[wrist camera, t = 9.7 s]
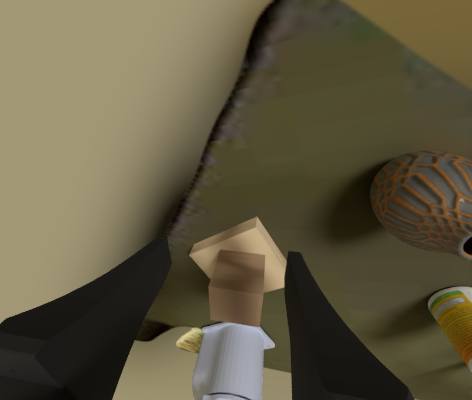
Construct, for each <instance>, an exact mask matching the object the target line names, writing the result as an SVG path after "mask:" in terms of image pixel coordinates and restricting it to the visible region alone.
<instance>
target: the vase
mask: <svg viewBox="0 0 472 400" xmlns="http://www.w3.org/2000/svg"><path fill="white" fill-rule="evenodd" d="M370 202H371V206H372V209H373V212H374V214H375V215H376V217H377V219H378V220H379V222H380V223H381V224H382V225H383V227H384V228H385V229H386V230H387V231H389V232H390V233H391V234H392V235H394V236H395V237H396V238H398V239H400V240H401V241H403V242H405V243H407V244H409V245H411V246H414V247H417V248H420V249H424V250H428V251H434V252H442V253H450V254H454V255H457V256H459V257H461V258H464V259H467V260H472V161H471V160H469V159H467V158H465V157H462V156H459V155H456V154H452V153H448V152H442V151H418V152H413V153H408V154H405V155H402V156H400V157H397V158H395V159H393V160H392V161H390V162H389V163H387V164H386V165H385V166H384V167H383V168H382V169H381V170H380V171H379V172H378V173H377V174H376V176H375V178H374V179H373V182H372V184H371V189H370Z"/></svg>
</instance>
